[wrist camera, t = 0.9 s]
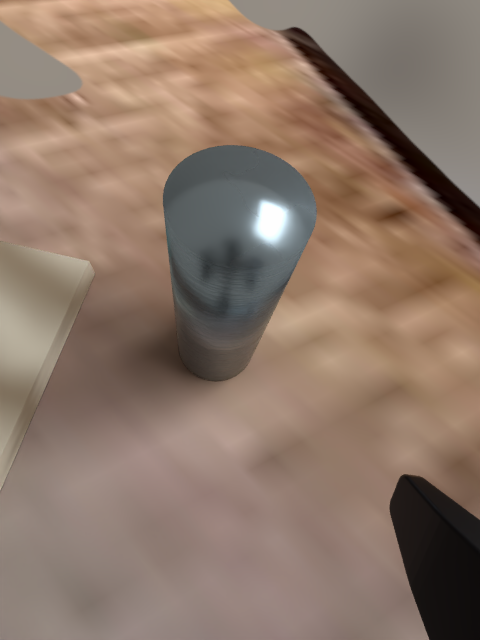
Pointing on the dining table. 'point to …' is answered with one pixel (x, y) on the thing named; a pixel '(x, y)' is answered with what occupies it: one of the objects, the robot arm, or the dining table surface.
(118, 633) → the dining table surface
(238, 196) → the shiny steel cylinder
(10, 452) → the collar base
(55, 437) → the dining table surface
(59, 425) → the dining table surface
